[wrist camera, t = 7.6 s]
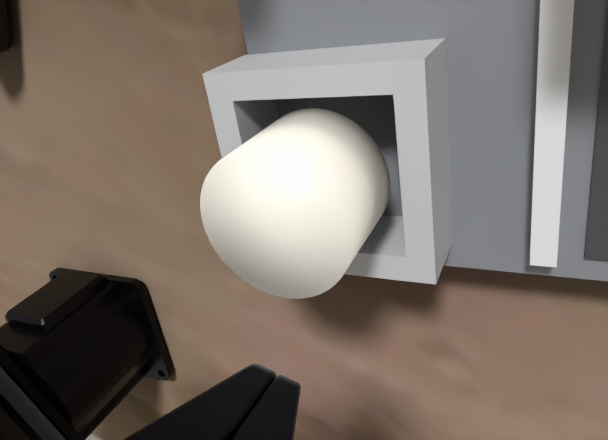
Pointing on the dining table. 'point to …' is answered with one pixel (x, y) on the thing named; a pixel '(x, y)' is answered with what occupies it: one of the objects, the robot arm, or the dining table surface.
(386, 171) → the button
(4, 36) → the sunglasses case
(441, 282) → the dining table surface
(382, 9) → the panel
